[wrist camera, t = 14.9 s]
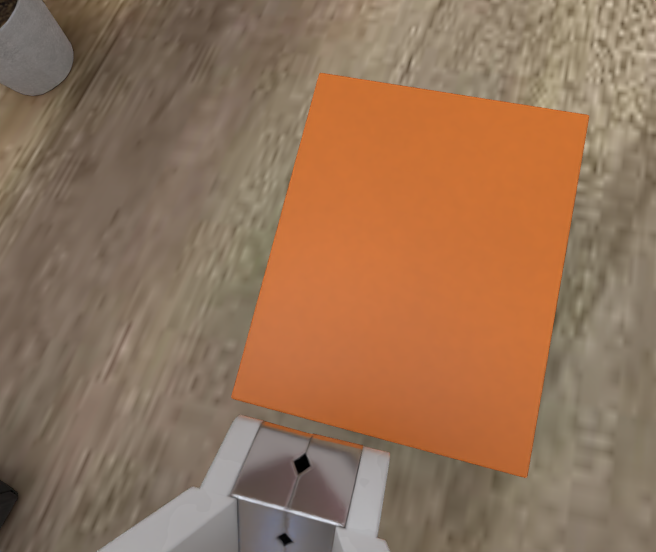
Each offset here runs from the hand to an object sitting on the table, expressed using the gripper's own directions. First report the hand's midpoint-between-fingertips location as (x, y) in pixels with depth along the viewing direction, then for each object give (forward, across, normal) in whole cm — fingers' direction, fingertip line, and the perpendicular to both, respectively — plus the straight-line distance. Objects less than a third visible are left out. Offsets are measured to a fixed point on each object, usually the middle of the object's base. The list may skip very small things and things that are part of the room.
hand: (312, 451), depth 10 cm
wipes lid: (+13, -1, +3) cm, 14 cm away
